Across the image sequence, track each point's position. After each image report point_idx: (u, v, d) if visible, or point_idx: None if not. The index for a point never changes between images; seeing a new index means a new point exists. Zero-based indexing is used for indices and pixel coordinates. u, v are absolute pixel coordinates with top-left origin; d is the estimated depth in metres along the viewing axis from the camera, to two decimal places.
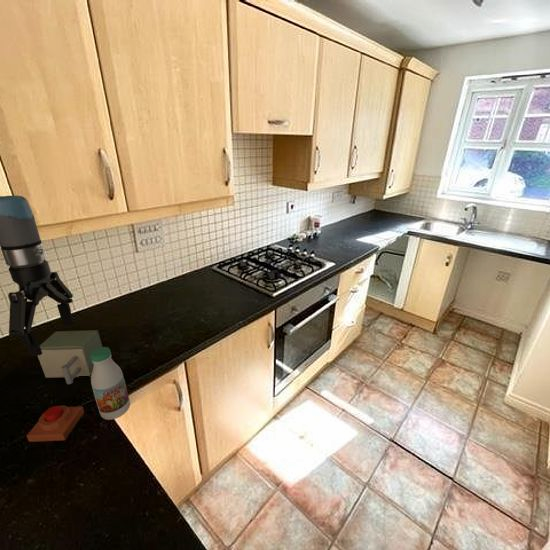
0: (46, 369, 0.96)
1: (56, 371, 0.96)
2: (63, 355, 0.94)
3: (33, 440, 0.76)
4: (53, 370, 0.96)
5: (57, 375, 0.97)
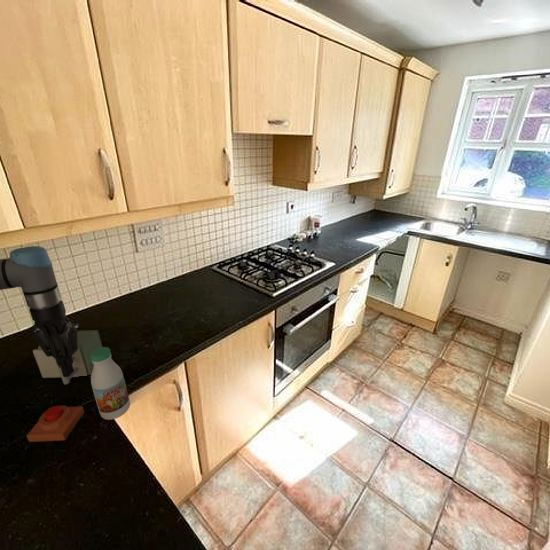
0: (43, 369, 0.96)
1: (53, 371, 0.96)
2: None
3: (33, 440, 0.76)
4: (50, 370, 0.96)
5: (54, 375, 0.97)
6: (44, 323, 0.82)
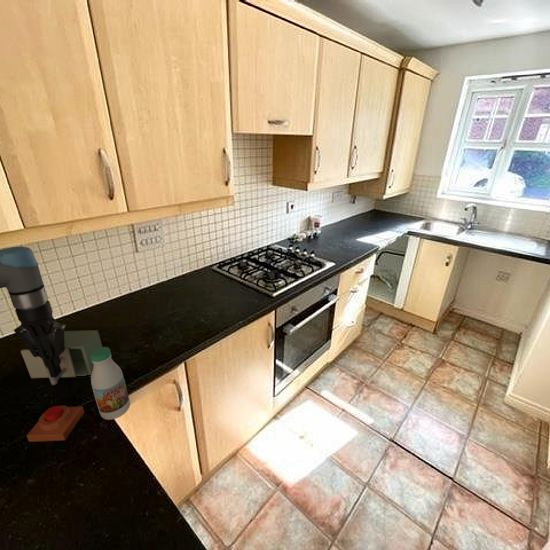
0: (31, 370, 0.95)
1: (42, 371, 0.96)
2: None
3: (33, 440, 0.76)
4: (38, 370, 0.96)
5: (43, 375, 0.96)
6: (30, 323, 0.82)
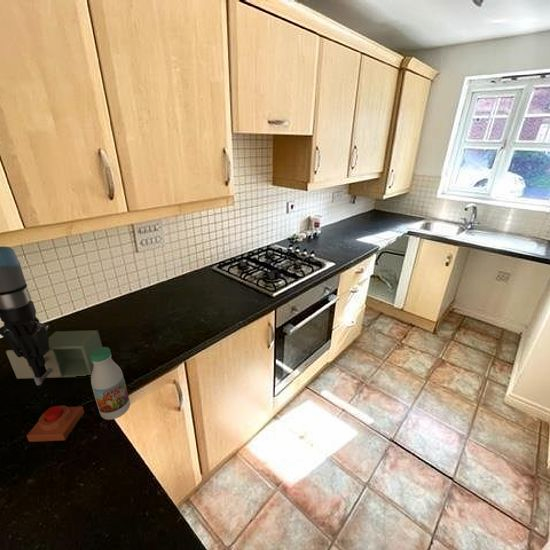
0: (17, 370, 0.95)
1: (28, 372, 0.96)
2: None
3: (33, 440, 0.76)
4: (24, 371, 0.95)
5: (28, 376, 0.96)
6: (13, 323, 0.82)
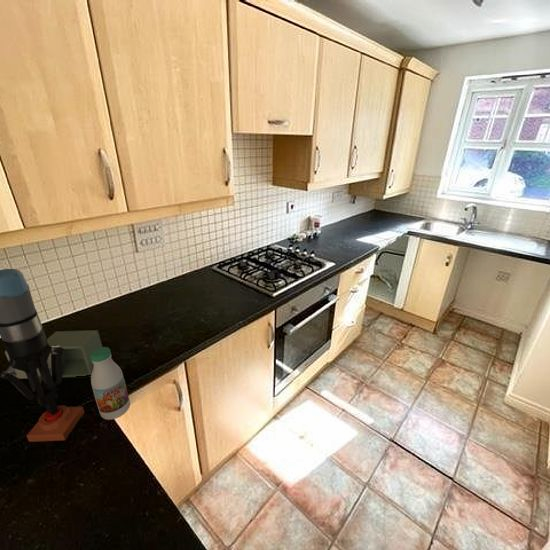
0: (16, 370, 0.95)
1: None
2: None
3: (33, 440, 0.76)
4: (23, 371, 0.95)
5: None
6: (27, 357, 0.70)
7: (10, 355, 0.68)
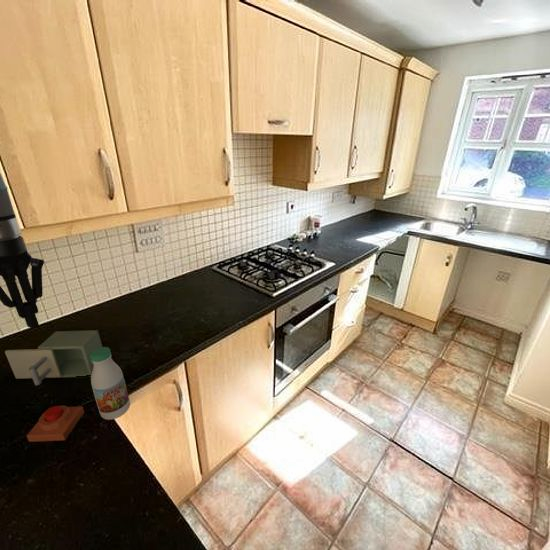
0: (16, 370, 0.95)
1: (26, 372, 0.96)
2: (32, 356, 0.94)
3: (33, 440, 0.76)
4: (23, 371, 0.95)
5: (27, 376, 0.96)
6: (5, 262, 0.70)
7: None
